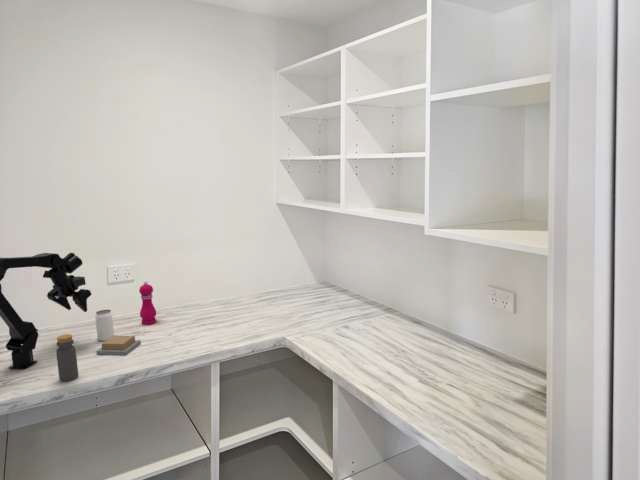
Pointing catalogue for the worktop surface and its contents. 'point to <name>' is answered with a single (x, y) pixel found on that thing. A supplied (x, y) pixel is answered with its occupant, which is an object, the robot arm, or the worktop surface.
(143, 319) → the pepper mill
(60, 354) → the bottle
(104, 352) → the plinth
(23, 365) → the robot arm
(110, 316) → the can
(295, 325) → the worktop surface
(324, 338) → the worktop surface
